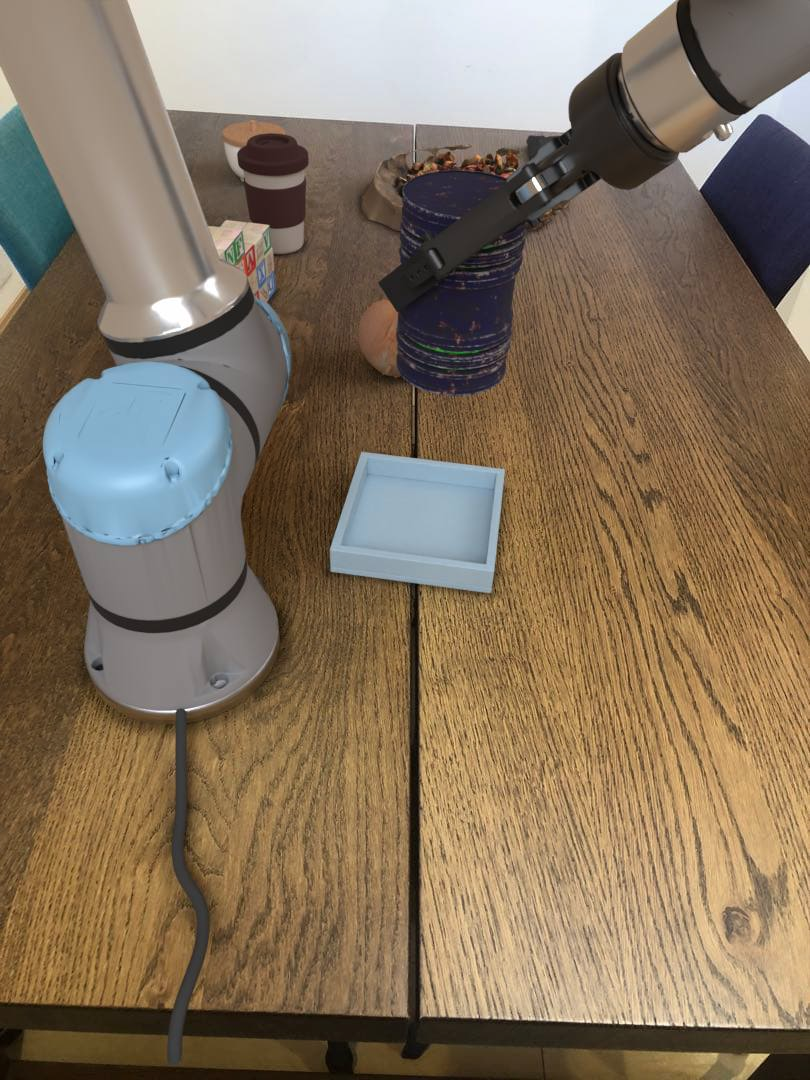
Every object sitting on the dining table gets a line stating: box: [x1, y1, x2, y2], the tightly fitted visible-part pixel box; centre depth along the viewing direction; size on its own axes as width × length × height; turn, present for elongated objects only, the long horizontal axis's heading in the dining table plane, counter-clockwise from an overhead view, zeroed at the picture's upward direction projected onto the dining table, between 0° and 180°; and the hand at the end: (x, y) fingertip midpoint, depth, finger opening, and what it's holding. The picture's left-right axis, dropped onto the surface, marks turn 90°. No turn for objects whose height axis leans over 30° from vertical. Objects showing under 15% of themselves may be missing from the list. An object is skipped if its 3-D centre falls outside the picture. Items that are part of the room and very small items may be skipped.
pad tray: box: [329, 451, 506, 594], centre depth 78 cm, size 15×15×3 cm
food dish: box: [361, 143, 572, 233], centre depth 136 cm, size 35×33×8 cm
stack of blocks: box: [208, 219, 277, 303], centre depth 102 cm, size 21×6×12 cm, turn 167°
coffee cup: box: [237, 133, 310, 255], centre depth 119 cm, size 10×10×15 cm
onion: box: [356, 297, 402, 379], centre depth 96 cm, size 10×9×10 cm
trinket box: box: [221, 119, 287, 183], centre depth 140 cm, size 11×11×9 cm
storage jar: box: [396, 170, 527, 397], centre depth 67 cm, size 10×10×15 cm
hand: (426, 272), depth 68 cm, fingers closed on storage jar, 10 cm apart
